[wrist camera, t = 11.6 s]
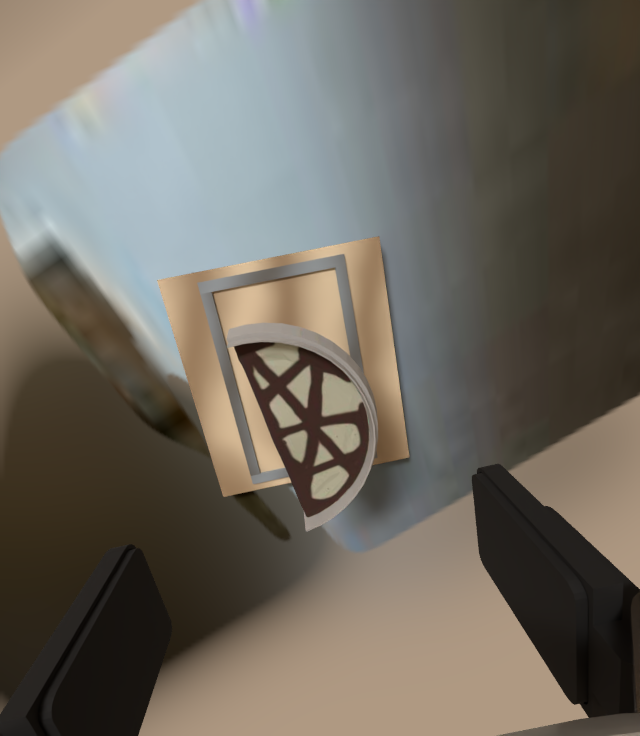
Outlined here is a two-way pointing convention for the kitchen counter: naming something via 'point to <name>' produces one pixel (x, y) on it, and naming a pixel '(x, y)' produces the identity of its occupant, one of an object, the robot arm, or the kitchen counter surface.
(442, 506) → the kitchen counter surface
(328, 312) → the base board
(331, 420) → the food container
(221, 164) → the kitchen counter surface
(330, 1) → the kitchen counter surface
